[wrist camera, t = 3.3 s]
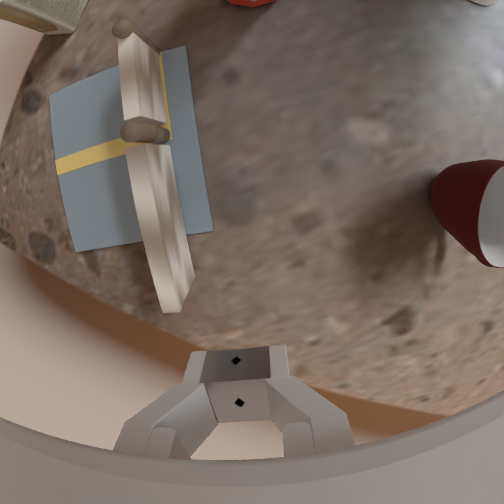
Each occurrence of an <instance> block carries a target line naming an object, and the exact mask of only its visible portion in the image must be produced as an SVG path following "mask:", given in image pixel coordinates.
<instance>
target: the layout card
mask: <svg viewBox="0 0 504 504" xmlns="http://www.w3.org/2000/svg"><path fill="white" fill-rule="evenodd" d="M159 64H160V74H161V83H162V91H163V99H164V107H165V115H166V122H167V123H164V124H160V125H156V126H158V127H163V128H166V129H168V130H169V132H170V139H169V141H168V142H166V143H164V144H158V143H136V142H125V141H124V140H123V139H122V138H121V135H120V130H121V128H122V126H123V125H124V124H125V123H126V122H128V121H125V120H124V114H123V106H122V96H121V86H120V74H119V65H118V66H115V67H112V68H110V69H107V70H104V71H102V72H99V73H97V74H94V75H92V76H90V77H87V78H85V79H83V80H80V81H78V82H76V83H74V84H72V85H69V86H67V87H65V88H63V89H61V90H59V91H57V92H55V93H53V94H51V95H49V102H50V117H51V128H52V138H53V146H54V153H55V163H56V169H57V175H58V179H59V184H60V190H61V195H62V200H63V204H64V209H65V213H66V218H67V222H68V226H69V230H70V234H71V238H72V241H73V245H74V249H75V252H81V251H87V250H93V249H99V248H105V247H111V246H117V245H123V244H129V243H136V242H142V241H143V238H142V234H141V230H140V225H139V221H138V216H137V212H136V207H135V202H134V197H133V192H132V187H131V181H130V176H129V170H128V164H127V158H126V152H125V149H127V148H130V147H134V146H138V145H142V144H150V145H170V149H171V155H172V161H173V167H174V173H175V179H176V185H177V190H178V196H179V201H180V207H181V212H182V217H183V222H184V227H185V232H186V235H188V234H195V233H202V232H209V231H213V230H214V228H213V222H212V217H211V211H210V205H209V199H208V193H207V187H206V181H205V175H204V169H203V163H202V156H201V150H200V143H199V137H198V130H197V123H196V116H195V109H194V102H193V95H192V87H191V80H190V72H189V64H188V56H187V48H186V46H181V47H177V48H173V49H169V50H165V51H162V52H160V55H159Z"/></svg>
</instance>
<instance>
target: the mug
mask: <svg viewBox="0 0 504 504" xmlns="http://www.w3.org/2000/svg"><path fill="white" fill-rule="evenodd" d="M429 197H430V202H431V205H432V209H433V211H434V214H435V216H436V218H437V220H438V221H439V223H440V224H441V225H442V226H443V227H444V228H445V229H446V230H447V231H448V232H449V233H450V234H451V235H452V236H453V237H454V238H455V239H456V240H457V241H458V242H459V243H460V244H461V245H462V246H463V247H464V248H465V249H467V250H468V251H469V252H470V253H471V254H473V255H474V256H475V257H476V258H477V259H478V260H479V261H480V262H481V263H482V264H484V265H486V266H488V267H496V268H504V161H500V160H490V159H488V160H479V161H472V162H465V163H458V164H454V165H451V166H449V167H447V168H446V169H444V170H443V171H442V172H441V173H440V174H439V175H438V176H437V177H436V178H435V179H434V180H433V182H432V184H431V187H430V192H429Z"/></svg>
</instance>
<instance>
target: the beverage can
mask: <svg viewBox="0 0 504 504" xmlns="http://www.w3.org/2000/svg"><path fill="white" fill-rule="evenodd" d="M227 1H228V2H229V3H231V4H236V5H242V6H249V7H256V6H259V5H263V4H266V3H270V2H274V1H275V0H227Z"/></svg>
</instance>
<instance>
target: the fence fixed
mask: <svg viewBox="0 0 504 504" xmlns="http://www.w3.org/2000/svg"><path fill="white" fill-rule="evenodd" d="M112 33H113V35H114V36H116V37H117V41H118V60H119V74H120V86H121V96H122V106H123V114H124V120H125V121H128V122H126V123H125V124H124V125H123V126H122V128H121V130H120V135H121V138H122V139H123V140H124V141H125V142H136V143H158V144H164V143H166V142H168V141H169V139H170V132H169V130H168V129H166V128H163V127H158V126H156V125H160V124H164V123H167V122H166V115H165V107H164V99H163V91H162V83H161V74H160V64H159V55H160V50H159V49H158V48H157V47H156V46H155V45H154V44H153V43H152V42H151V41H150V40H149V39H148V38H147V37H146V36H145V35H144V34H143V33H141V32H140V31H139V30H138V29H137V28H136V27H135V26H134V25H133V24H132V23H130V22H129V21H128V20H126V19H123V20H120V21H118V22H117V23H115V25H114V26H113V28H112Z"/></svg>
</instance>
